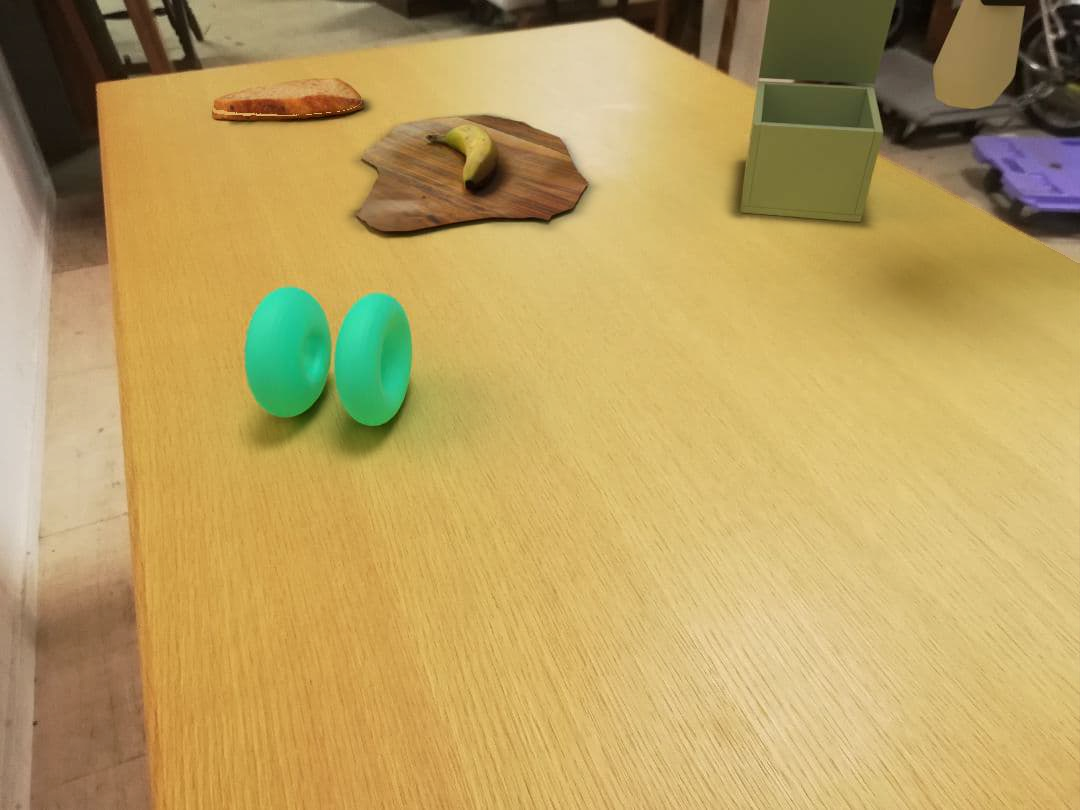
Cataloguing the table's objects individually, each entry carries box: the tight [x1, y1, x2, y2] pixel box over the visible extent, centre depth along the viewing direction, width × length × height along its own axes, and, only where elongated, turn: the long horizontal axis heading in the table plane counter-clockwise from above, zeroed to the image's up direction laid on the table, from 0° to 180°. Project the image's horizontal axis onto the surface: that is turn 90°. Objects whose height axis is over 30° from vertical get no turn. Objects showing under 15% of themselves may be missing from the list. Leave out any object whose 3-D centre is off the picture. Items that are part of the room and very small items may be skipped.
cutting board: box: [356, 114, 590, 232], centre depth 96 cm, size 35×27×4 cm
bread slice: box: [211, 77, 365, 122], centre depth 114 cm, size 18×18×4 cm
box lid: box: [758, 0, 897, 85], centre depth 85 cm, size 14×13×5 cm
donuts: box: [244, 286, 413, 427], centre depth 59 cm, size 10×10×10 cm
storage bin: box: [739, 80, 884, 223], centre depth 87 cm, size 14×13×10 cm
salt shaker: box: [932, 0, 1026, 110], centre depth 58 cm, size 6×6×13 cm
